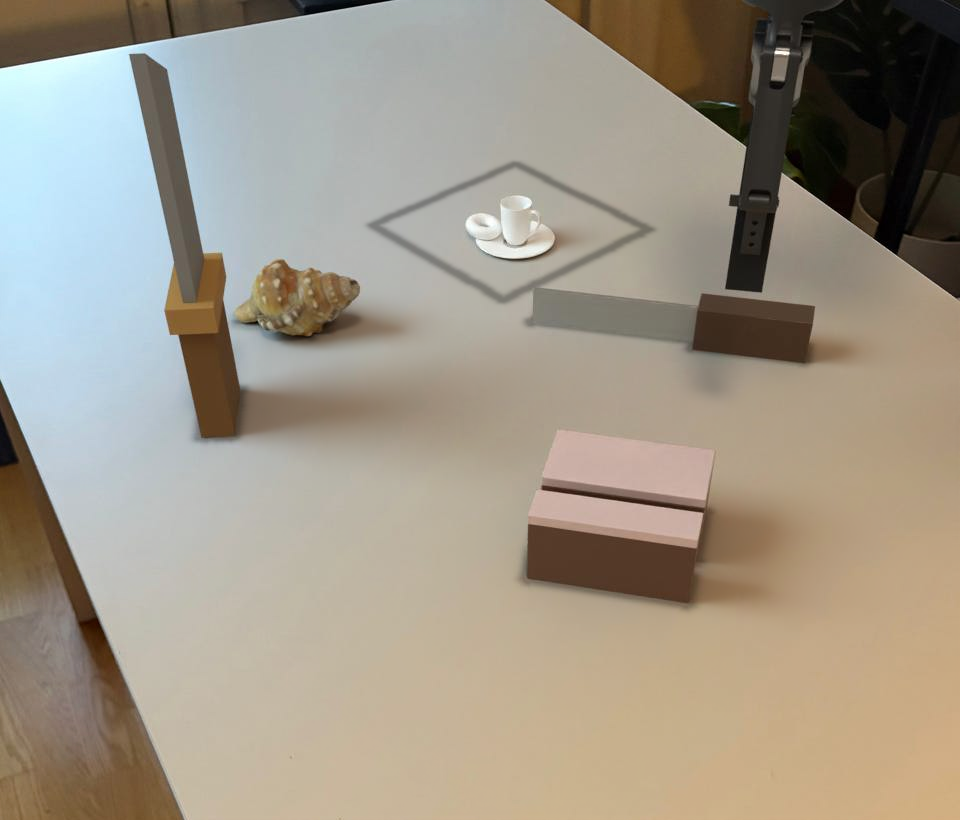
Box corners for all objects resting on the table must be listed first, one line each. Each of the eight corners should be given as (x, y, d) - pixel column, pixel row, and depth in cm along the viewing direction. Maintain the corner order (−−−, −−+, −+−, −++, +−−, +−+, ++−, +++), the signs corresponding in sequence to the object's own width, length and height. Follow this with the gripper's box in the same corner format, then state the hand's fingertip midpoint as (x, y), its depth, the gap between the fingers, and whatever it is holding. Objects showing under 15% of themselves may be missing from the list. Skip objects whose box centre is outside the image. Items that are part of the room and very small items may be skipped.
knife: (239, 443, 102) (163, 57, 79) (195, 445, 102) (106, 60, 79) (246, 385, 107) (177, 9, 84) (204, 387, 107) (123, 11, 84)
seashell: (331, 327, 119) (369, 251, 111) (319, 386, 115) (357, 311, 107) (241, 287, 116) (273, 206, 108) (224, 346, 112) (256, 266, 104)
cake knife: (806, 346, 110) (815, 305, 107) (804, 364, 108) (813, 323, 105) (536, 314, 114) (537, 274, 111) (529, 331, 112) (530, 291, 109)
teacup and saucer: (454, 239, 123) (453, 199, 120) (512, 213, 127) (512, 174, 124) (512, 271, 119) (513, 231, 116) (571, 243, 122) (572, 204, 119)
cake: (705, 513, 95) (716, 449, 90) (696, 563, 91) (706, 499, 87) (555, 492, 97) (557, 428, 92) (539, 540, 93) (541, 476, 89)
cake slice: (693, 576, 90) (703, 512, 86) (688, 603, 88) (698, 540, 84) (535, 552, 92) (536, 489, 88) (526, 578, 90) (527, 515, 86)
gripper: (753, -132, 87) (714, 167, 103) (727, -6, 71) (685, 324, 87) (861, -127, 86) (804, 174, 102) (858, 2, 70) (791, 334, 86)
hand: (749, 244), depth 95 cm, fingers open, 13 cm apart
